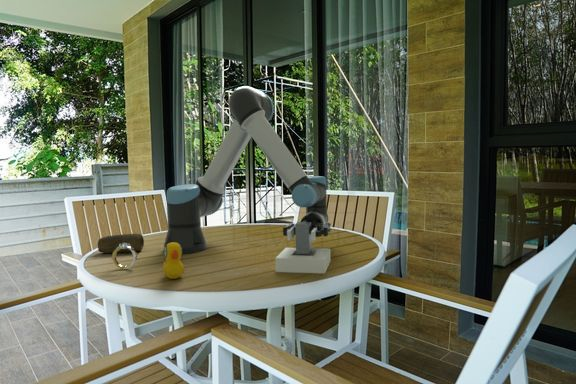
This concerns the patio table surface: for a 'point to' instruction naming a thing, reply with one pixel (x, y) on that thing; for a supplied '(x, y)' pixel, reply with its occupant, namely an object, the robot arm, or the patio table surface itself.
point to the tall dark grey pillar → (303, 238)
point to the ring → (124, 248)
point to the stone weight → (112, 243)
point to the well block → (303, 261)
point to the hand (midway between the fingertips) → (300, 236)
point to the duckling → (173, 261)
